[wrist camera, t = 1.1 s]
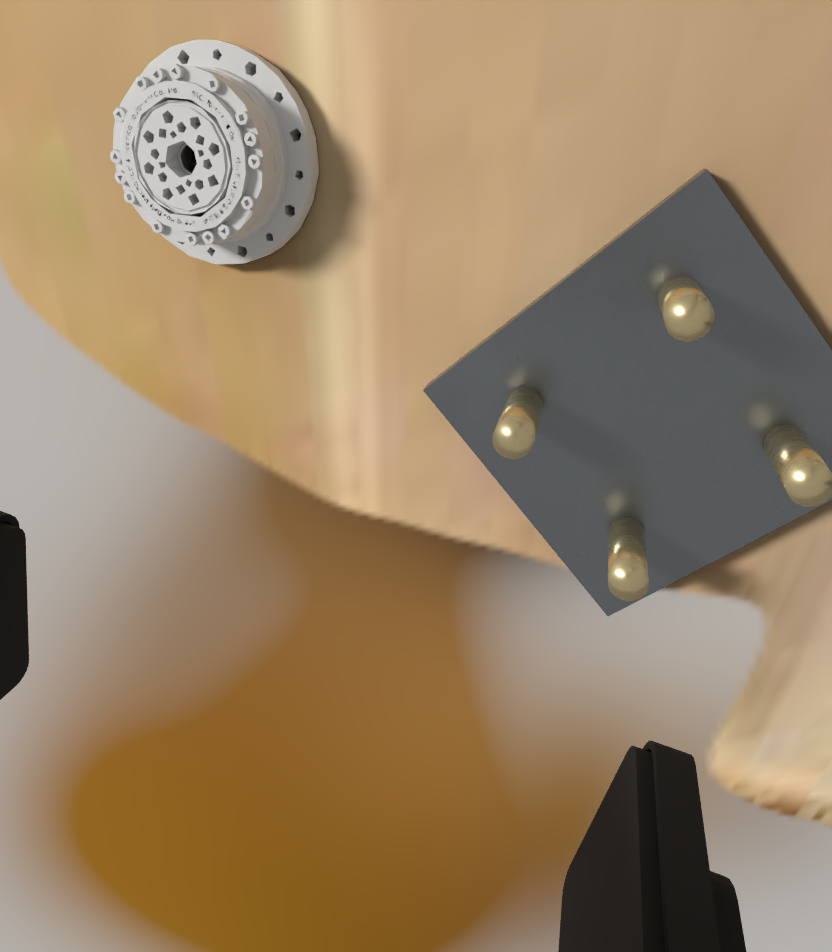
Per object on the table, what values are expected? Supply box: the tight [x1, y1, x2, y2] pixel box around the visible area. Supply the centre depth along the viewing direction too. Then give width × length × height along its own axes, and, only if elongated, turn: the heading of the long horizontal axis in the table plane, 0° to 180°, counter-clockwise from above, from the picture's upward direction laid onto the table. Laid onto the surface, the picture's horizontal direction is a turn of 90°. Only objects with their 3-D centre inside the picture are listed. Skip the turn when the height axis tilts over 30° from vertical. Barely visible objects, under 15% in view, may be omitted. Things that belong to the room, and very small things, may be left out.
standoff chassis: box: [423, 169, 832, 616], centre depth 33 cm, size 16×16×6 cm
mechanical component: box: [110, 40, 319, 264], centre depth 34 cm, size 10×4×10 cm
